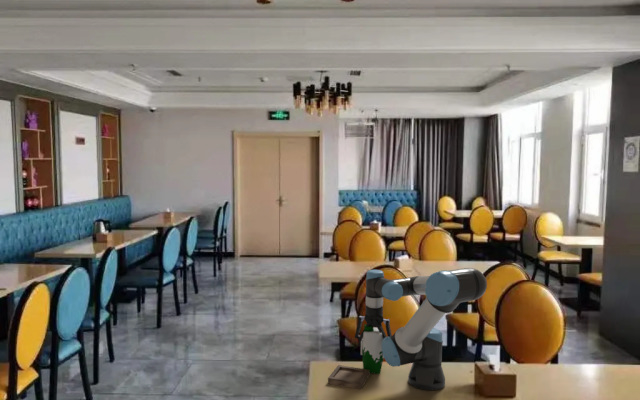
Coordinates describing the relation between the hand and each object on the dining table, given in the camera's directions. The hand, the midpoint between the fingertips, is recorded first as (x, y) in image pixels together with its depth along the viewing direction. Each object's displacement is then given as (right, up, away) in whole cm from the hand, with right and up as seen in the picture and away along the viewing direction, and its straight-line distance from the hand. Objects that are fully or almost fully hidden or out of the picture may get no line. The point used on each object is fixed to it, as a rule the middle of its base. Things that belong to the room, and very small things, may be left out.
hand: (373, 355), depth 232 cm
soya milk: (0, -7, +1) cm, 7 cm away
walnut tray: (-11, -7, -9) cm, 16 cm away
